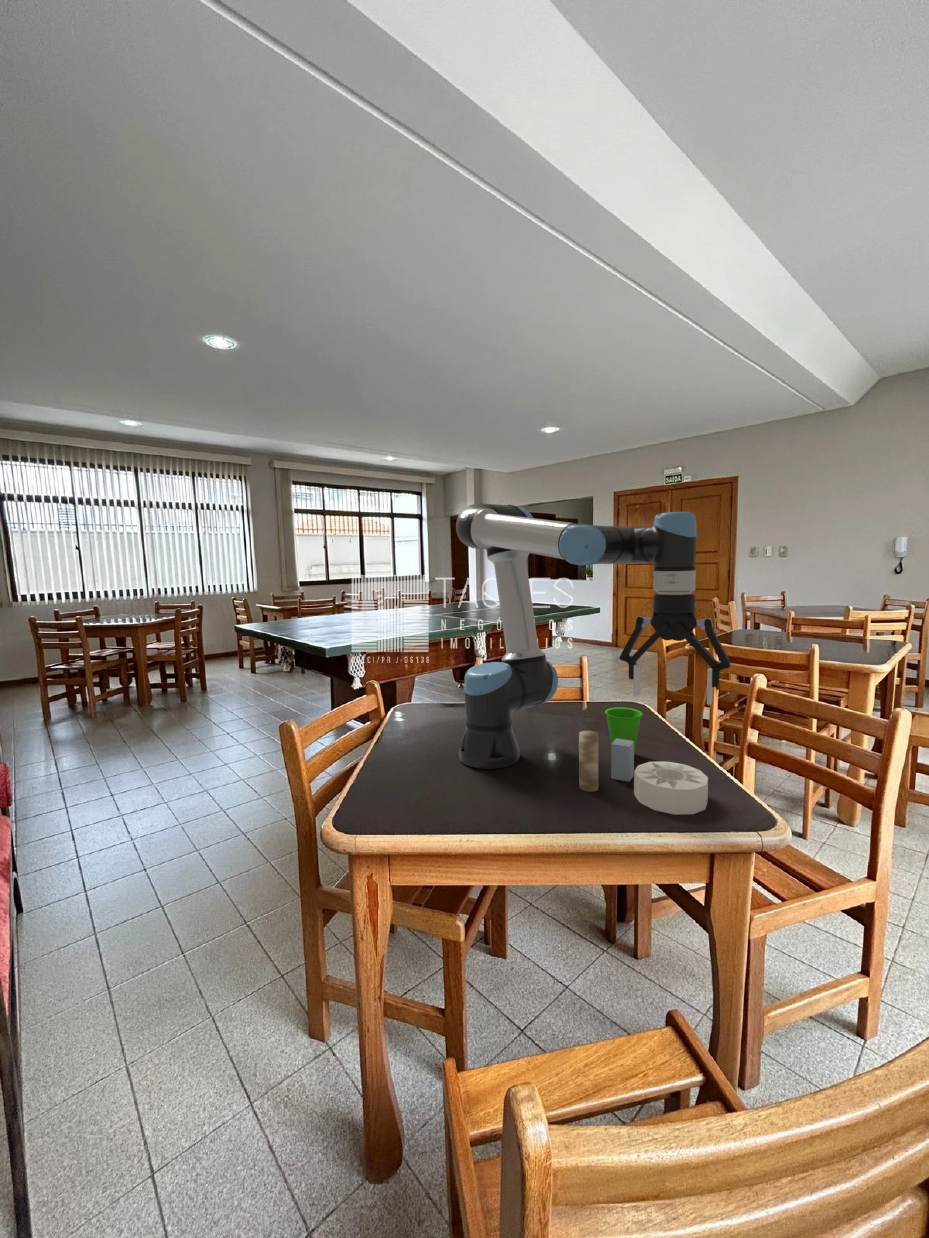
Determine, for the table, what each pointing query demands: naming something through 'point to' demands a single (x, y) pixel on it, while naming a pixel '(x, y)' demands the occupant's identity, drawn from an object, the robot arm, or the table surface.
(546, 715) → the table surface
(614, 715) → the cup
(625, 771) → the square peg
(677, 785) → the socket
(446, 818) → the table surface
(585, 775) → the dowel
